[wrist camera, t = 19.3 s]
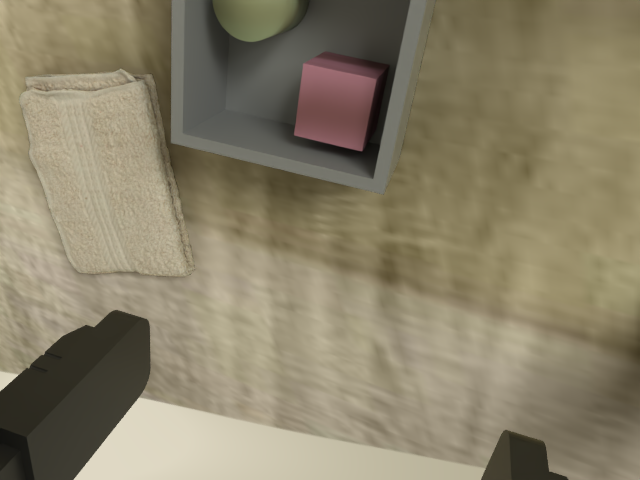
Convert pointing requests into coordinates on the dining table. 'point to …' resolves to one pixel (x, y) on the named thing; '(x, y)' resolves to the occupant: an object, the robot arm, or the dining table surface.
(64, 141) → the washcloth
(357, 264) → the dining table surface
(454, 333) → the dining table surface
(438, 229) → the dining table surface
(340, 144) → the pink cube
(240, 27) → the green cylinder
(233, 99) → the bin
